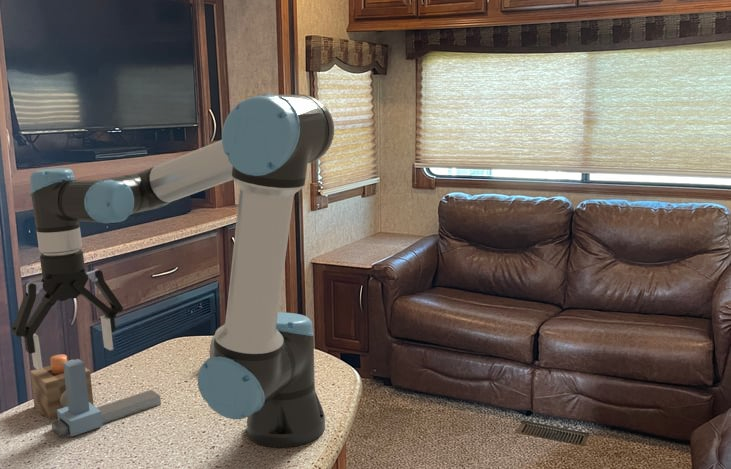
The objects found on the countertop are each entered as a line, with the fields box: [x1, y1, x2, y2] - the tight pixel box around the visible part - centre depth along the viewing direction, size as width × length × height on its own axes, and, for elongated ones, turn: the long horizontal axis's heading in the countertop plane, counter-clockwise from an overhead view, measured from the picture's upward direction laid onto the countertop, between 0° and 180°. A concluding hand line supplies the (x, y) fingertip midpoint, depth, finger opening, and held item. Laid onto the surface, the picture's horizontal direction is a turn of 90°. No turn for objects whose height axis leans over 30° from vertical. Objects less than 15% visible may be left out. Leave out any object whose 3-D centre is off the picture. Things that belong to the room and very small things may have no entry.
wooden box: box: [29, 359, 95, 421], centre depth 146 cm, size 10×9×8 cm
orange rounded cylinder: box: [49, 354, 68, 375], centre depth 145 cm, size 3×3×3 cm
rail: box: [51, 389, 162, 440], centre depth 141 cm, size 4×21×2 cm, turn 134°
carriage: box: [57, 358, 104, 437], centre depth 136 cm, size 7×6×13 cm
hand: (74, 358), depth 135 cm, fingers open, 13 cm apart
